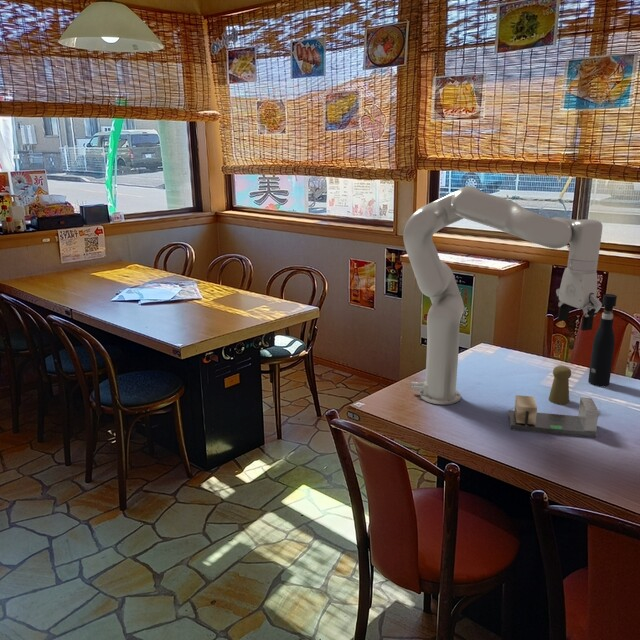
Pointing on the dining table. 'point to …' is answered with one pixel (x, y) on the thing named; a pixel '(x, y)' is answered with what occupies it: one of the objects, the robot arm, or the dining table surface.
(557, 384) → the olive brown pawn
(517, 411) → the block
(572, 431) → the gauge rail
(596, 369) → the black water bottle
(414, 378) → the dining table surface
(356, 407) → the dining table surface
